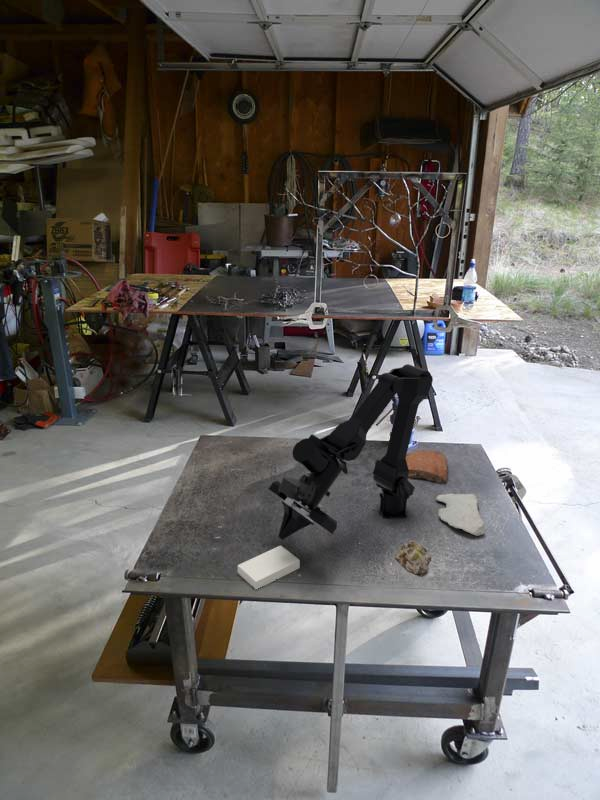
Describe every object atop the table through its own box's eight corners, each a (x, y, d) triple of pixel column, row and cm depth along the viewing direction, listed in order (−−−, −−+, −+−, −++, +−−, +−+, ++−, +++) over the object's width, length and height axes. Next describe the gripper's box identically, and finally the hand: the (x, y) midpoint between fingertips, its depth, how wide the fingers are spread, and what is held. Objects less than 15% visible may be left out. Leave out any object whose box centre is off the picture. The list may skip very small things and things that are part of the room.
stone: (473, 487, 165) (500, 523, 146) (472, 500, 166) (499, 538, 147) (427, 490, 164) (448, 527, 145) (427, 503, 166) (448, 542, 147)
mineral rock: (389, 540, 142) (422, 531, 142) (393, 554, 144) (425, 546, 144) (401, 571, 132) (436, 561, 132) (404, 586, 134) (439, 576, 134)
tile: (280, 545, 139) (237, 565, 132) (299, 560, 134) (255, 581, 127) (280, 554, 140) (237, 574, 133) (299, 569, 135) (256, 591, 128)
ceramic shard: (399, 440, 186) (448, 452, 184) (394, 459, 187) (442, 471, 185) (398, 456, 172) (450, 469, 170) (392, 476, 173) (444, 490, 171)
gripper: (275, 449, 137) (235, 506, 134) (329, 482, 123) (286, 546, 121) (301, 469, 144) (263, 524, 142) (354, 503, 131) (314, 563, 129)
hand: (280, 538), depth 133 cm, fingers closed
